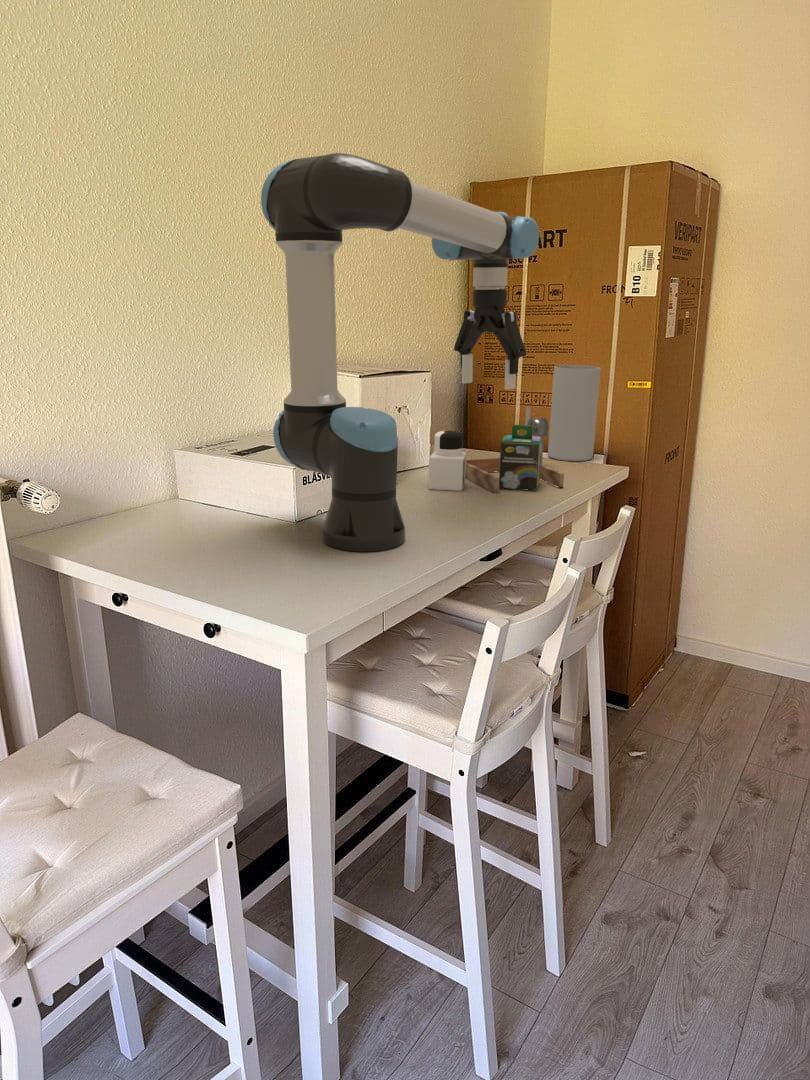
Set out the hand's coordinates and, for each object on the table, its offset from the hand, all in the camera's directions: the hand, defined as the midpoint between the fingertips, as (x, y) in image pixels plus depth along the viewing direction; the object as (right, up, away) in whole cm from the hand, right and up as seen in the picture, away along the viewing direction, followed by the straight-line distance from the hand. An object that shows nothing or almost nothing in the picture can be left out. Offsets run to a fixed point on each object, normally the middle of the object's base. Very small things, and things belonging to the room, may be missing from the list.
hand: (488, 386), depth 178 cm
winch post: (+15, -16, +29) cm, 36 cm away
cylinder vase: (+28, -12, +42) cm, 52 cm away
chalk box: (+8, -22, +8) cm, 25 cm away
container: (-9, -23, +6) cm, 25 cm away
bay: (+7, -21, +12) cm, 25 cm away
